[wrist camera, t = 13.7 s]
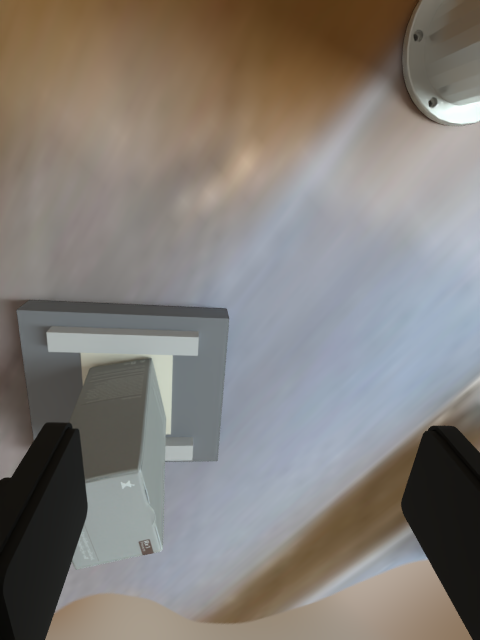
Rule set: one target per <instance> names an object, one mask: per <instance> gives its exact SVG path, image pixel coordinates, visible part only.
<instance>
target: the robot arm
mask: <svg viewBox="0 0 480 640" xmlns="http://www.w3.org/2000/svg"><path fill="white" fill-rule="evenodd" d="M414 37H415V40H414ZM402 63H403V75H404V79H405V83H406V87H407V90H408V92H409V94H410V96H411V99H412V100H413V102H414V103H415V105H416V106H417V107H418V109H419V110H420V111H421V112H422V113H423V114H425V115H426V116H427V117H428V118H430V119H432V120H433V121H435V122H437V123H440V124H444V125H448V126H463V125H469V124H474V123H477V122H480V0H419V2H418V4H417V5H416V7H415V9H414V11H413V13H412V16H411V18H410V21H409V23H408V26H407V30H406V34H405V38H404V43H403V54H402ZM428 102H429V105H428ZM401 507H402V511H403V514H404V516H405V518H406V520H407V522H408V523H409V525H410V527H411V529H412V531H413V533H414V534H415V536H416V538H417V540H418V542H419V543H420V545H421V547H422V549H423V551H424V552H425V554H426V556H427V558H428V560H429V561H430V563H431V565H432V567H433V569H434V571H435V572H436V574H437V576H438V578H439V580H440V581H441V583H442V585H443V587H444V589H445V590H446V592H447V594H448V596H449V598H450V599H451V601H452V603H453V605H454V607H455V608H456V610H457V612H458V614H459V616H460V618H461V619H462V621H463V623H464V625H465V627H466V628H467V630H468V632H469V634H470V636H471V637H472V639H473V640H480V453H479V451H478V450H477V449H476V448H475V447H474V446H473V445H472V444H471V443H470V442H469V441H468V440H467V439H466V438H465V436H464V435H463V434H462V433H461V432H460V431H459V430H458V429H457V428H456V427H454V426H431V427H430V428H429V429H428V431H425V432H424V434H423V436H422V439H421V442H420V445H419V448H418V451H417V454H416V458H415V461H414V464H413V467H412V470H411V473H410V476H409V479H408V482H407V485H406V488H405V492H404V495H403V498H402V502H401ZM87 511H88V502H87V493H86V484H85V476H84V467H83V458H82V449H81V440H80V432H79V429H77V428H73V427H72V424H71V423H65V422H47V423H45V424H44V426H43V427H42V429H41V430H40V432H39V434H38V435H37V437H36V438H35V440H34V442H33V443H32V445H31V446H30V448H29V450H28V451H27V453H26V455H25V456H24V458H23V459H22V461H21V463H20V464H19V466H18V467H17V469H16V471H15V472H14V474H13V476H12V477H11V478H3V479H1V480H0V640H45V638H46V635H47V632H48V630H49V626H50V624H51V621H52V617H53V615H54V612H55V609H56V606H57V603H58V600H59V597H60V594H61V591H62V588H63V585H64V582H65V579H66V577H67V574H68V571H69V568H70V565H71V562H72V559H73V556H74V553H75V550H76V547H77V544H78V541H79V538H80V535H81V532H82V529H83V526H84V524H85V520H86V517H87Z"/></svg>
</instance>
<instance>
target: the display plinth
mask: <svg viewBox="0 0 480 640" xmlns="http://www.w3.org/2000/svg"><path fill="white" fill-rule="evenodd" d="M17 317H18V325H19V333H20V340H21V348H22V355H23V363H24V370H25V378H26V385H27V393H28V401H29V408H30V416H31V423H32V431H33V438H34V440H35V438H36V437H37V435H38V434H39V432H40V430H41V429H42V427H43V426H44V424H45V423H47V422H65V423H69V421H70V418H71V416H72V413H73V410H74V408H75V405H76V403H77V400H78V397H79V395H80V392H81V390H82V387H83V384H84V382H85V379H86V377H87V374H88V371H89V369H90V368H92V367H98V366H105V365H111V364H117V363H123V362H129V361H135V360H141V359H147V358H152V361H153V364H154V368H155V372H156V377H157V381H158V385H159V389H160V394H161V398H162V402H163V406H164V411H165V415H166V441H165V462H194V461H218V449H219V437H220V425H221V413H222V401H223V389H224V376H225V364H226V352H227V340H228V328H229V316H228V312H227V309H222V308H199V307H176V306H154V305H131V304H109V303H86V302H63V301H41V300H29V301H28V302H26V303H25V304H24V305H22V306H21V307H20V308H19V309H17Z"/></svg>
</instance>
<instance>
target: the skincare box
mask: <svg viewBox="0 0 480 640" xmlns="http://www.w3.org/2000/svg"><path fill="white" fill-rule="evenodd" d="M69 423H71V424H72V427H73V428H77V429H79V432H80V440H81V449H82V458H83V467H84V476H85V484H86V493H87V502H88V511H87V517H86V520H85V524H84V526H83V529H82V532H81V535H80V538H79V541H78V544H77V547H76V550H75V553H74V556H73V559H72V563H73V565H74V567H75V569H82V568H87V567H91V566H96V565H101V564H105V563H109V562H114V561H119V560H123V559H128V558H133V557H138V556H142V555H147V554H152V553H157V552H160V551H162V549H163V530H164V479H165V441H166V415H165V411H164V406H163V402H162V398H161V394H160V389H159V385H158V381H157V377H156V372H155V368H154V364H153V361H152V358H147V359H141V360H135V361H129V362H123V363H117V364H111V365H105V366H98V367H92V368H90V369H89V371H88V374H87V377H86V379H85V382H84V384H83V387H82V390H81V392H80V395H79V397H78V400H77V403H76V405H75V408H74V410H73V413H72V416H71V418H70V421H69Z"/></svg>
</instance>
